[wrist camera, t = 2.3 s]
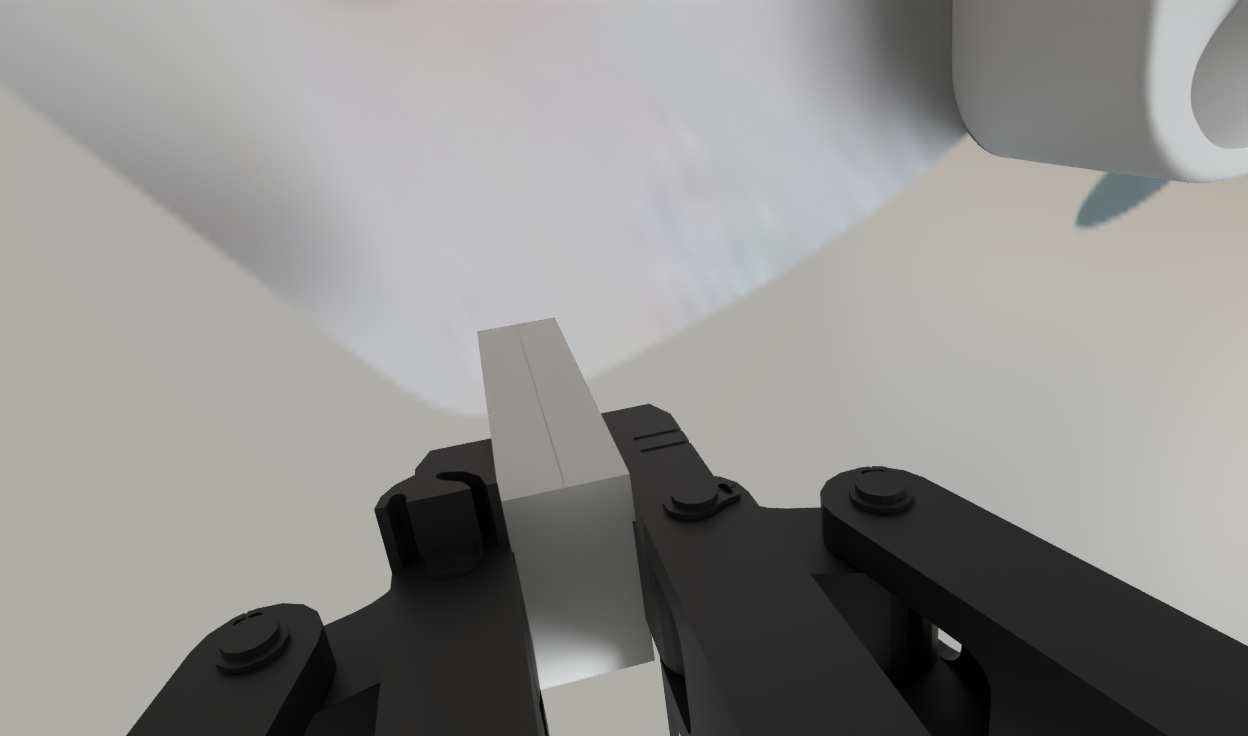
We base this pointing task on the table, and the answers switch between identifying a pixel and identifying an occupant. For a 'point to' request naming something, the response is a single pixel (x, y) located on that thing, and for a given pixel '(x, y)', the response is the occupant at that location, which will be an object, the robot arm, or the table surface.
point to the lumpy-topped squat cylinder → (1107, 84)
